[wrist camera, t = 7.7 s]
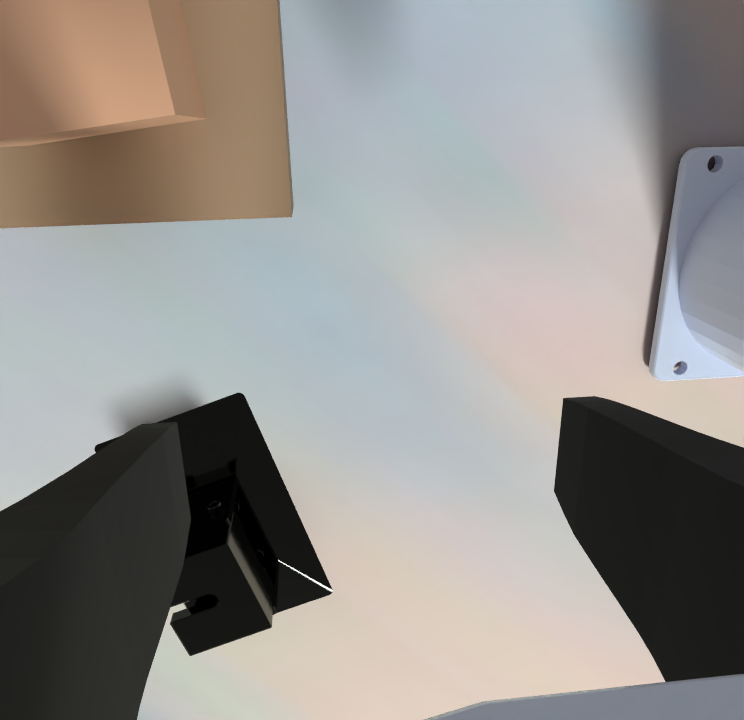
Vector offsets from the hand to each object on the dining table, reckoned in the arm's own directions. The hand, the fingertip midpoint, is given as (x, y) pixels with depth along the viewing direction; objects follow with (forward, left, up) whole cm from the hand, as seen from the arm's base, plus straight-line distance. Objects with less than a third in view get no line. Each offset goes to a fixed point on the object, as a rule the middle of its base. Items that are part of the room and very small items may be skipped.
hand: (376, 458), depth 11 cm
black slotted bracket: (+5, +8, -11) cm, 14 cm away
